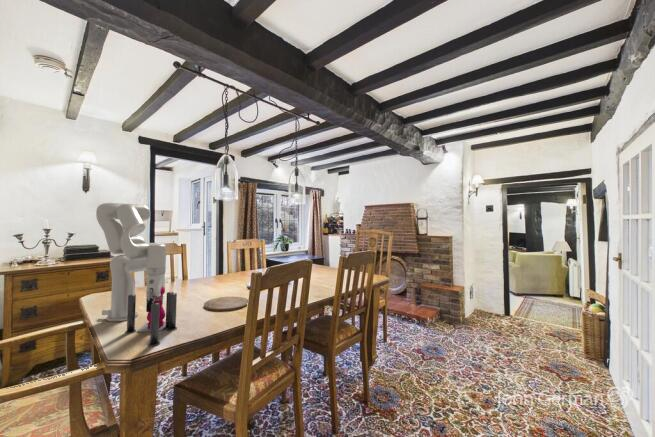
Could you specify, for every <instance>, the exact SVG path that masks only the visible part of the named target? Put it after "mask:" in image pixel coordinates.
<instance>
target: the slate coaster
mask: <svg viewBox="0 0 655 437" xmlns="http://www.w3.org/2000/svg"><path fill="white" fill-rule="evenodd" d="M165 327H166V321H164V325H163V326H161V327H159V332H163V331H164V330H165V329H164V328H165ZM150 329H151V328H148V322H146V323H145V324H144V325H142V326H141V327H140V328H139V329H138V330H136V333H150Z"/></svg>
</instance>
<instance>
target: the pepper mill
mask: <svg viewBox="0 0 655 437" xmlns="http://www.w3.org/2000/svg"><path fill="white" fill-rule="evenodd" d="M165 292H166V287H165V288H164V287H162V288H161V296H159V297H157V296H156V298H155V301H154V302H155V303H160V309H159V327H161V326H163V325H164V322H165V320H164V319H166V310H165V309H164V307H163V304H162V299H163V300H164V294H165ZM153 296H154V295H153ZM152 300H153V298H152ZM146 320H147V323H148V328H151V312H147V316H146Z"/></svg>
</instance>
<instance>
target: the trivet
mask: <svg viewBox="0 0 655 437" xmlns="http://www.w3.org/2000/svg"><path fill="white" fill-rule="evenodd" d="M248 300H249V299H248V298H246V297H242V296H222V297H215V298H212V299H208V300H207V301H204V303H203V308H204V309H205V310H207V311H209V312H231V311H236V310H242V309H244V308H246V307H247V306H248V305H247V303H248ZM243 307H244V308H243Z"/></svg>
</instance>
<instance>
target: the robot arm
mask: <svg viewBox="0 0 655 437" xmlns="http://www.w3.org/2000/svg"><path fill="white" fill-rule="evenodd" d="M95 211H96V215H95V216H96V220H97V223H98V224H99V226H100V228H101V229H102V231H103V233H104V236H105V239H106V244H107V246H108V247H107V248H108V250H109V252H110V253H111V254H113V255H116V256H114V257H112V258H111V260H110V262H109V268H110V274H111V294H110V295H111V296H110V297H111V298H110V308H109V309H102V310H101V316H106V320H105V321H108V322H112V323H113V322H117V323H118V322H124V321H127V312H128V295H133V294H135V295H136V280H135V278H134V277H133V276H132V275H131V274H132V273H137V272H145V271H146V274H145V275H146V276H147V281H146V290H145V293H146V294H145V297H146V299H145V300H146V301H145V302H146V309H145V310H146V313H148V312H151V304H153V303H155V302H154V301H155V298H156V296H157V297H159V296H161V288H162V287H164V288H165V289H166V277H165V276H166V268H167V266H166V265H167V264H166V263H167V246H166V245H165V244H162V243H157V242H146V240H145V239H144V238H143V237H142V236H140V234H141V233H143V232H144V231H145V230H146V224H145V223H144V221H147V220H149V219H150V218H151V210H150V208H149V207H148V206H147V205H145V204H137V203H136V204H134V203H121V202H120V203H117V202H104V203H102V204H99V205H98V206H97V208H96V210H95ZM117 220H119V221H120V222H119V221H117ZM153 295H154V296H153ZM152 298H153V300H152ZM163 300H164V298H163V299H162V305H163V302H164V301H163ZM138 314H139V313H138V312H137V311H135V318H136V317H138V316H139V315H138Z"/></svg>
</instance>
